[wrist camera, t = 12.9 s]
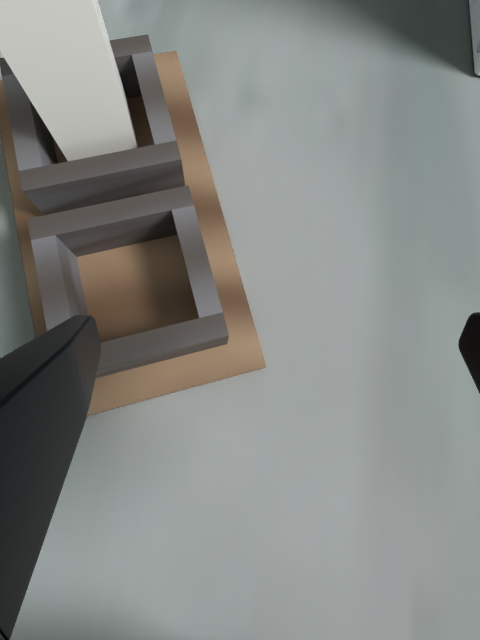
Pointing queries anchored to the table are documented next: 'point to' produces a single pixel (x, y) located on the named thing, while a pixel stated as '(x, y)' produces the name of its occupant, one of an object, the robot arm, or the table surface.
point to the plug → (68, 73)
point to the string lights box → (475, 32)
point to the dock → (131, 239)
